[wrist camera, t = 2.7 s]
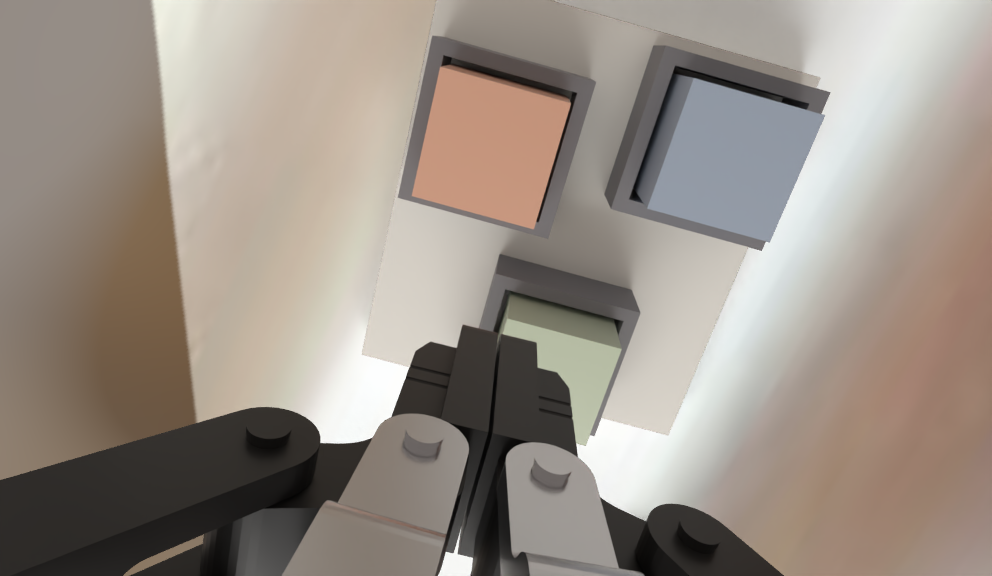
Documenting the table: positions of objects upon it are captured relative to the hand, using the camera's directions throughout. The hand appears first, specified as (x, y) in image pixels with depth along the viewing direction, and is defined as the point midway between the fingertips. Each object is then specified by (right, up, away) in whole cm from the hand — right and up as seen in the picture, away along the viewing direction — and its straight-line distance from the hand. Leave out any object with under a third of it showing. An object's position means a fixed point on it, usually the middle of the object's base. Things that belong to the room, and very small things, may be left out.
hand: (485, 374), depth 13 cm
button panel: (+4, +5, +20) cm, 21 cm away
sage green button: (+3, -1, +19) cm, 19 cm away
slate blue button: (+9, +8, +15) cm, 20 cm away
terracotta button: (0, +8, +16) cm, 18 cm away
